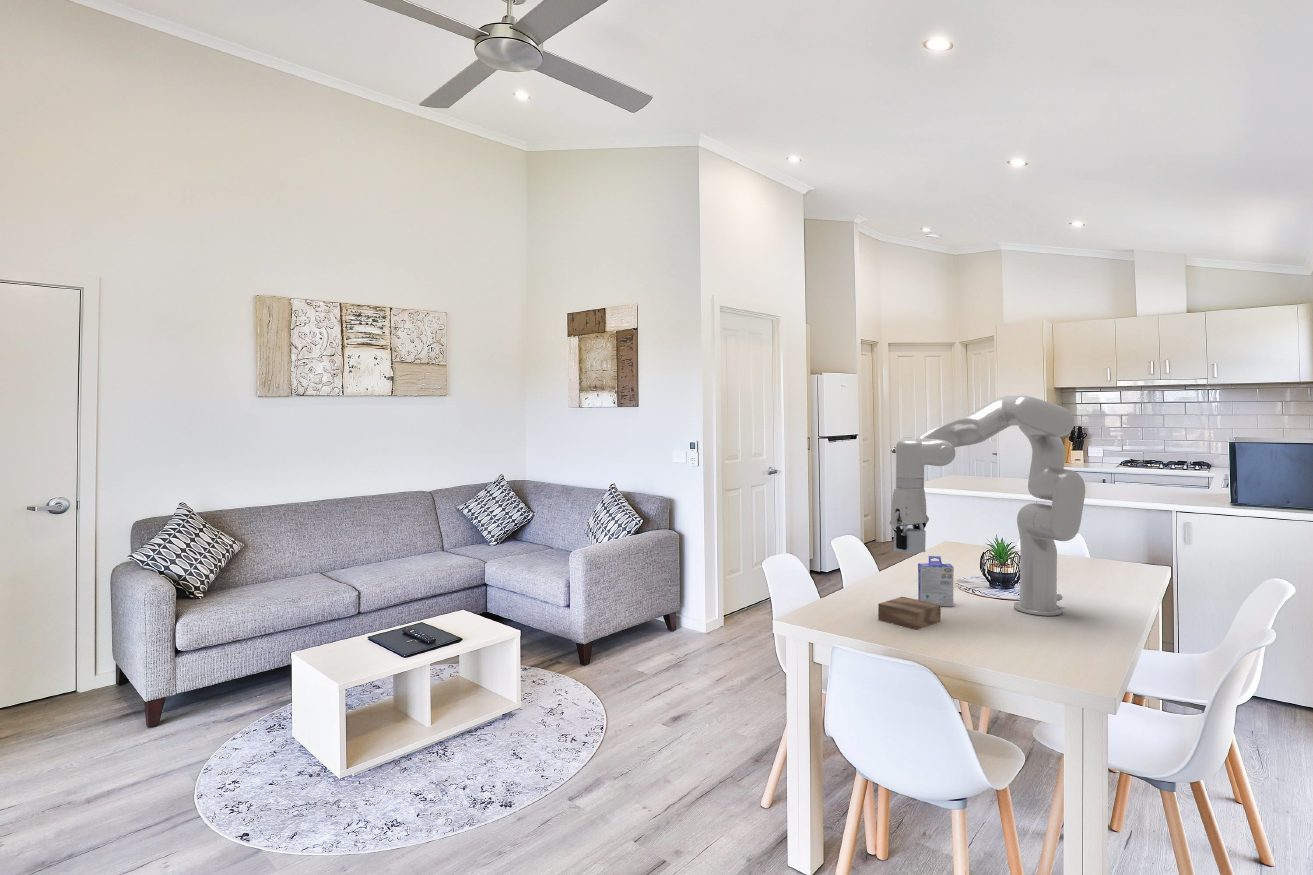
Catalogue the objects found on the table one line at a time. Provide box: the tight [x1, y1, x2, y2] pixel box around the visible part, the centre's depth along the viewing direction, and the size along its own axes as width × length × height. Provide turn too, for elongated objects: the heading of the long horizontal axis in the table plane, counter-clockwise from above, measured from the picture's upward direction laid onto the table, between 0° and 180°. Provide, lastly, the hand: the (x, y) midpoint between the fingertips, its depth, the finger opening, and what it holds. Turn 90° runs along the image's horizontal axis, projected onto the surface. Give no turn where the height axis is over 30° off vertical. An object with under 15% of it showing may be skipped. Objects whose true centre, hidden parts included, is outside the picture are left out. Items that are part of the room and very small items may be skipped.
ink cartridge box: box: [917, 555, 955, 607], centre depth 215 cm, size 10×6×14 cm, turn 79°
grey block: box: [893, 527, 927, 555], centre depth 198 cm, size 6×6×6 cm
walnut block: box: [877, 596, 942, 631], centre depth 199 cm, size 12×12×5 cm
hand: (909, 547), depth 198 cm, fingers closed on grey block, 6 cm apart
